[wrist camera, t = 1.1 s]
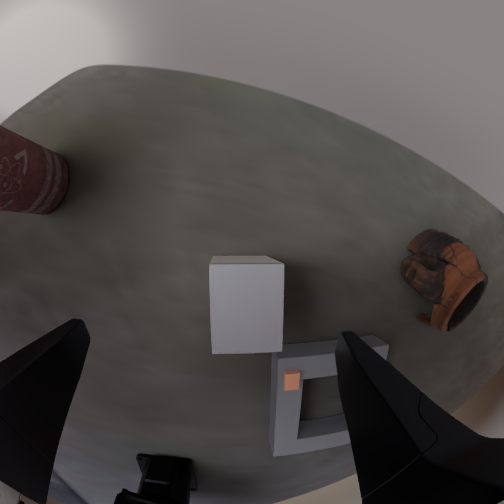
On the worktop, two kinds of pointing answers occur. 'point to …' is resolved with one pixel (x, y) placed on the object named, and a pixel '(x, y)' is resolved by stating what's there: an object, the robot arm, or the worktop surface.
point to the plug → (246, 304)
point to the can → (29, 175)
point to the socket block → (290, 393)
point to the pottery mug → (444, 277)
